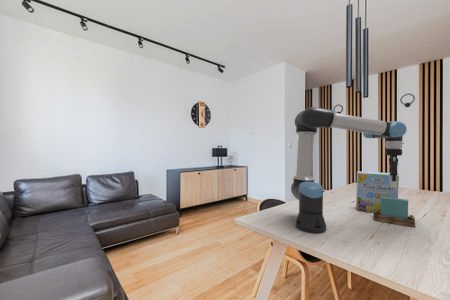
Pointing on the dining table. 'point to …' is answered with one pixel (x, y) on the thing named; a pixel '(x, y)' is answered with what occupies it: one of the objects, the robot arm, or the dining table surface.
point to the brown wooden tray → (394, 220)
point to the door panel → (394, 207)
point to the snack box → (373, 190)
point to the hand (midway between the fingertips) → (392, 185)
